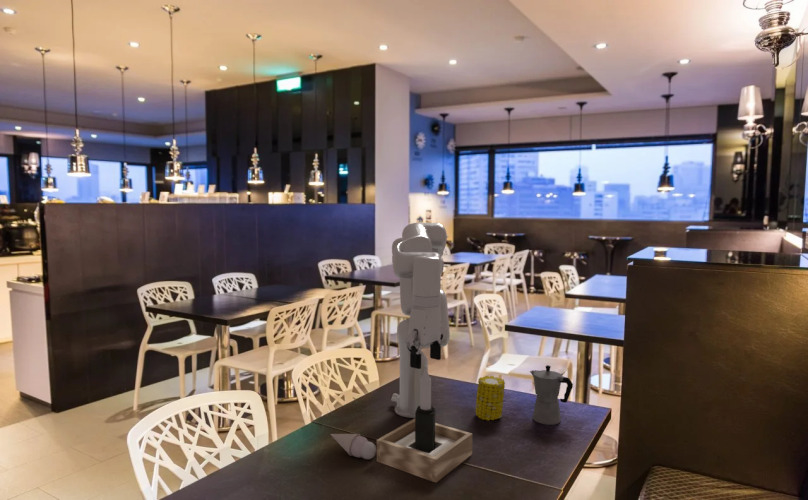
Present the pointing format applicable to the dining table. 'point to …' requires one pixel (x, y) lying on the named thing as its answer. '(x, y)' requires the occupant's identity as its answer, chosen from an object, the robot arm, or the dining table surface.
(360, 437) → the ice cream cone
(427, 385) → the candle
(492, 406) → the food
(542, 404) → the coffeepot
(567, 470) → the dining table surface
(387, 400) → the dining table surface
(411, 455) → the box
